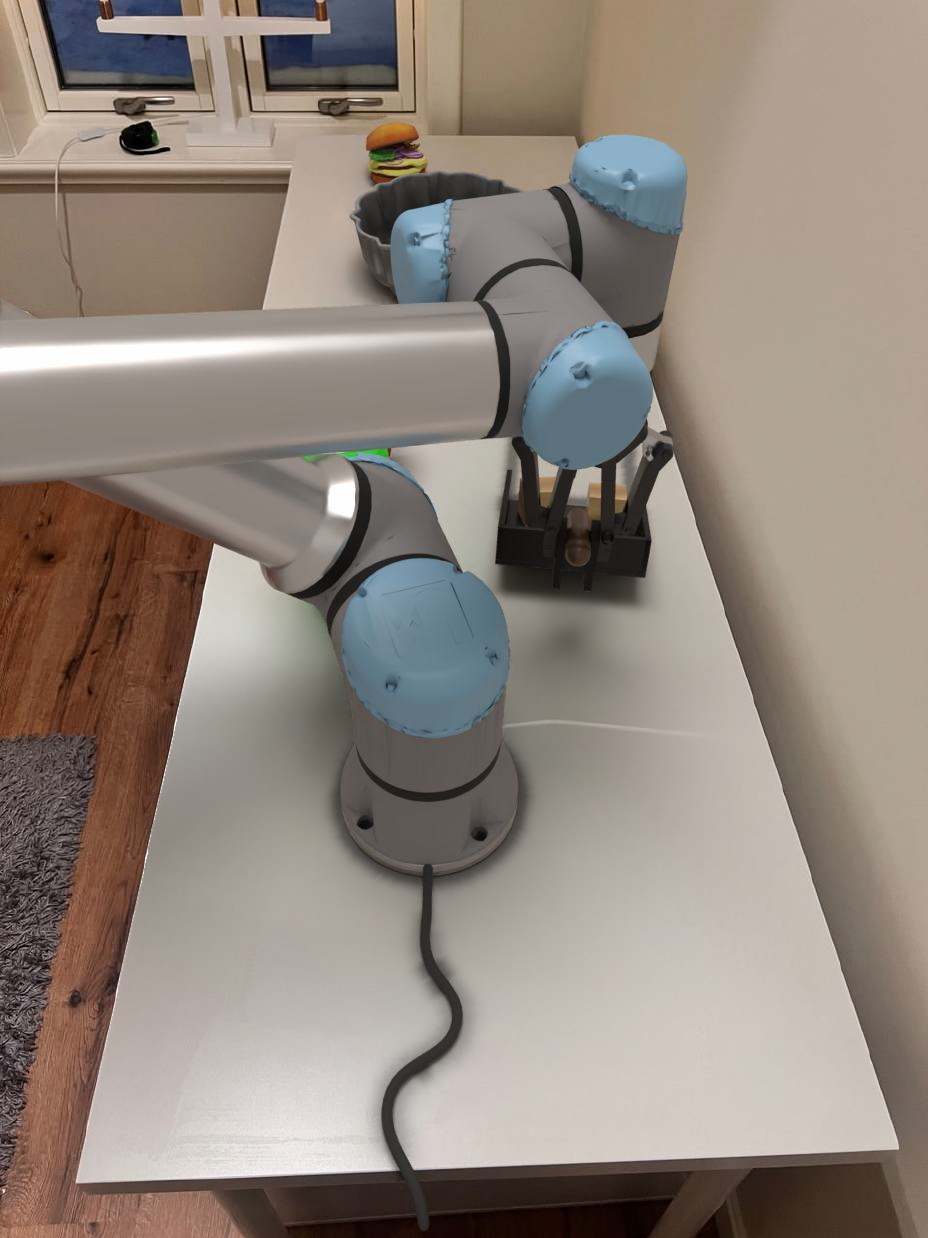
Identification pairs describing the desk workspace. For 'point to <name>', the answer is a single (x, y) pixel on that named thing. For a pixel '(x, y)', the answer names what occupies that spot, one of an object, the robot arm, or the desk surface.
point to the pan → (568, 542)
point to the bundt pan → (406, 194)
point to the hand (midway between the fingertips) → (572, 579)
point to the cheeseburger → (394, 152)
